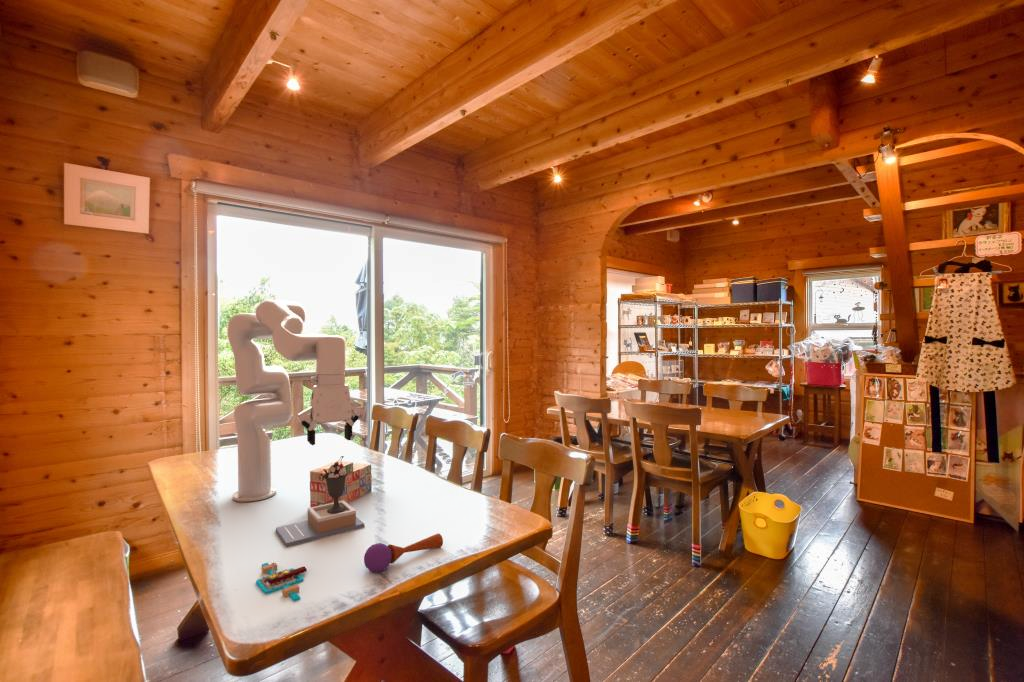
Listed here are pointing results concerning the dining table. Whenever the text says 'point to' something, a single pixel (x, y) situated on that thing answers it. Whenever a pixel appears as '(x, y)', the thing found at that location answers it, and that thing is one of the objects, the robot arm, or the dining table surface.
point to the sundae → (335, 485)
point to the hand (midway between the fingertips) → (330, 441)
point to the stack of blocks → (354, 487)
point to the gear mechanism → (277, 579)
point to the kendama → (396, 552)
